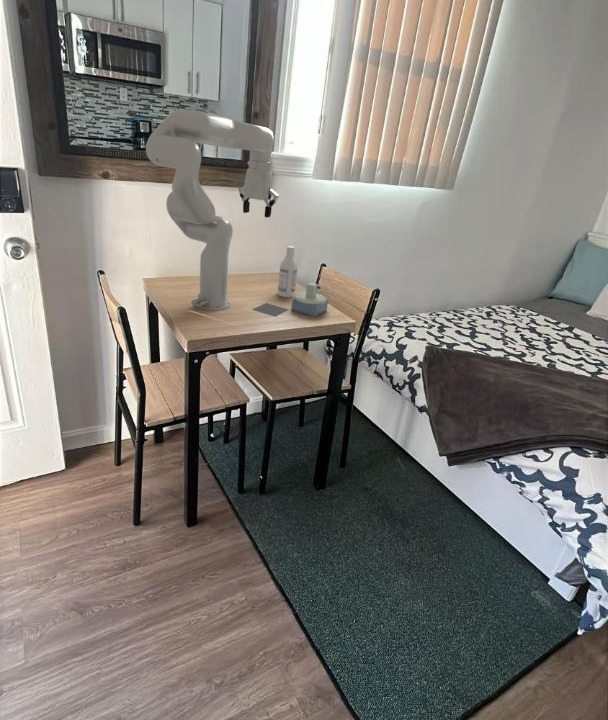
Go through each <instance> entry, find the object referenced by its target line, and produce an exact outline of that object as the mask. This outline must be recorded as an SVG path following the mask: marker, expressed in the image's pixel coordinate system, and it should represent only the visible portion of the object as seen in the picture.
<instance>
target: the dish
mask: <svg viewBox="0 0 608 720" xmlns="http://www.w3.org/2000/svg"><path fill="white" fill-rule="evenodd" d="M326 299H327V300H326V303H324V304H320V305H312V304H305V303H302V302H299V301H297V300H296V299H295V297H292V302H291V311H292V312H295V313H299V314H302V315H305V316H309V317H312V318H317V317H318V316H320V315H322V314H324V313H326V312H327V310H328V303H329V299H328V298H326Z"/></svg>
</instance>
